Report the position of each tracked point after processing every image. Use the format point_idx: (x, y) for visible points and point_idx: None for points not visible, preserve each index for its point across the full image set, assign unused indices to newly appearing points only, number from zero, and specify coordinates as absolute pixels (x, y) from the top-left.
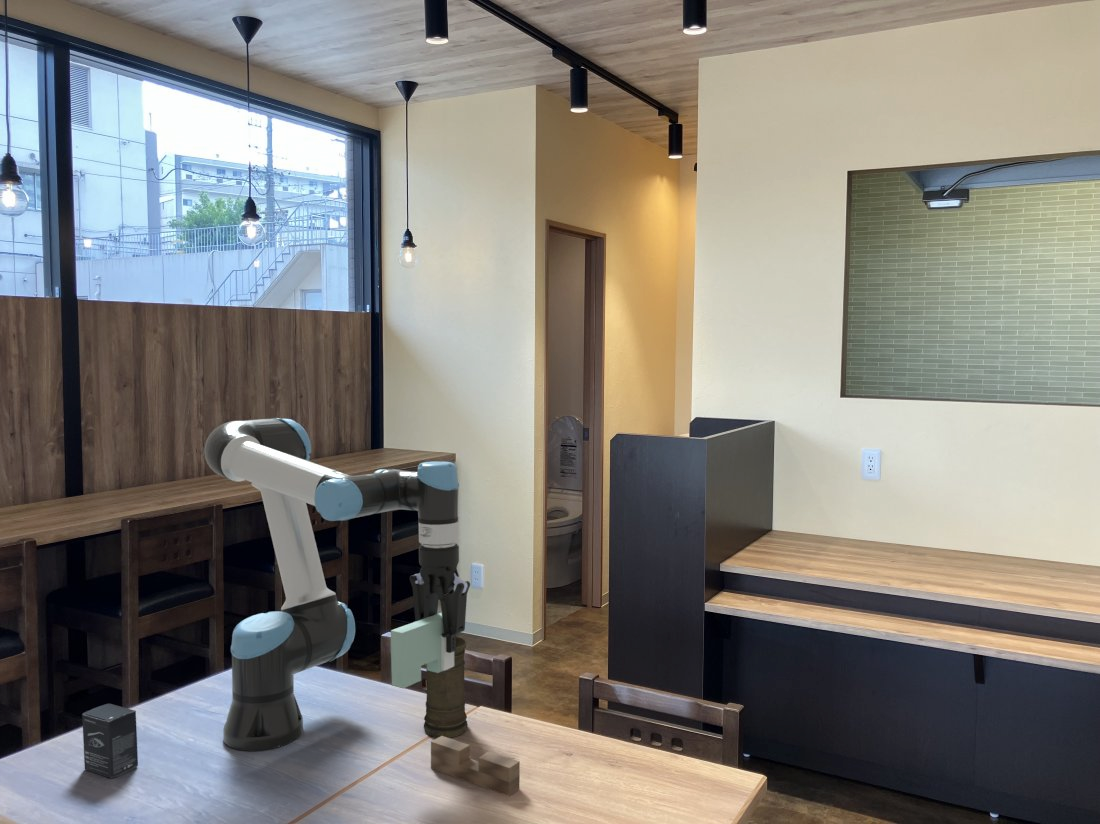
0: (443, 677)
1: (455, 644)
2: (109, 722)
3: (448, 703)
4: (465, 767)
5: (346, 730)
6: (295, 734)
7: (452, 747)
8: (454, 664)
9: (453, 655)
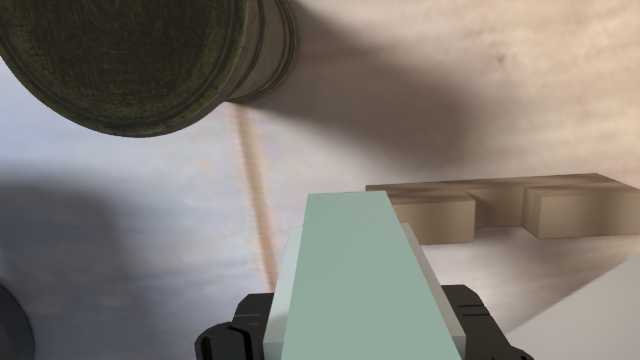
0: (237, 91)
1: (487, 314)
2: None
3: (268, 75)
4: (480, 227)
5: (55, 209)
6: (14, 318)
7: (445, 238)
8: (385, 191)
9: (420, 247)
